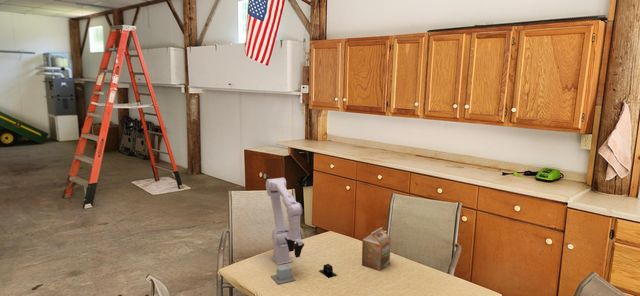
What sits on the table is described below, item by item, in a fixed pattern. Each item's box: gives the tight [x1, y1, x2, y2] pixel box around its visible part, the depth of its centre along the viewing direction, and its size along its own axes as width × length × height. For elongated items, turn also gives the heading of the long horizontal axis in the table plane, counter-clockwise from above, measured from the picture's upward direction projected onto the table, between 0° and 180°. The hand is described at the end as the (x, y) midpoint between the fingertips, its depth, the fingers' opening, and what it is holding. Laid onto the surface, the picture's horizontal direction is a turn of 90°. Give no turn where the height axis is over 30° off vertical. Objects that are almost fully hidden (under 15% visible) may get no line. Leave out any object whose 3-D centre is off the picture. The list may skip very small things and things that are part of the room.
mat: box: [270, 274, 296, 286], centre depth 207 cm, size 9×9×1 cm
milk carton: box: [361, 226, 392, 272], centre depth 222 cm, size 10×11×19 cm
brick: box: [276, 264, 292, 280], centre depth 207 cm, size 4×6×5 cm, turn 119°
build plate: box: [318, 263, 338, 279], centre depth 214 cm, size 12×7×5 cm, turn 33°
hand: (294, 254), depth 212 cm, fingers open, 7 cm apart
